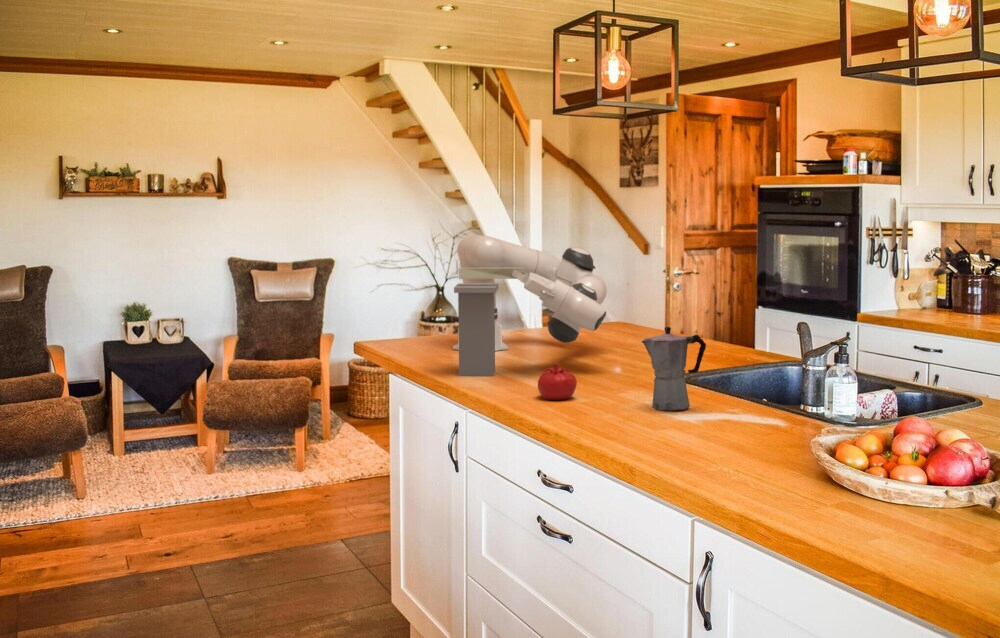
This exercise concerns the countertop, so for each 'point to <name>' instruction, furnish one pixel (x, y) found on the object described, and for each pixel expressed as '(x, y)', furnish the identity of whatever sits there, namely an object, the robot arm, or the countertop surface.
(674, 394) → the moka pot
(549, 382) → the pomegranate
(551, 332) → the robot arm
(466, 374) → the tall stand
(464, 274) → the beige block
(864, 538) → the countertop surface
